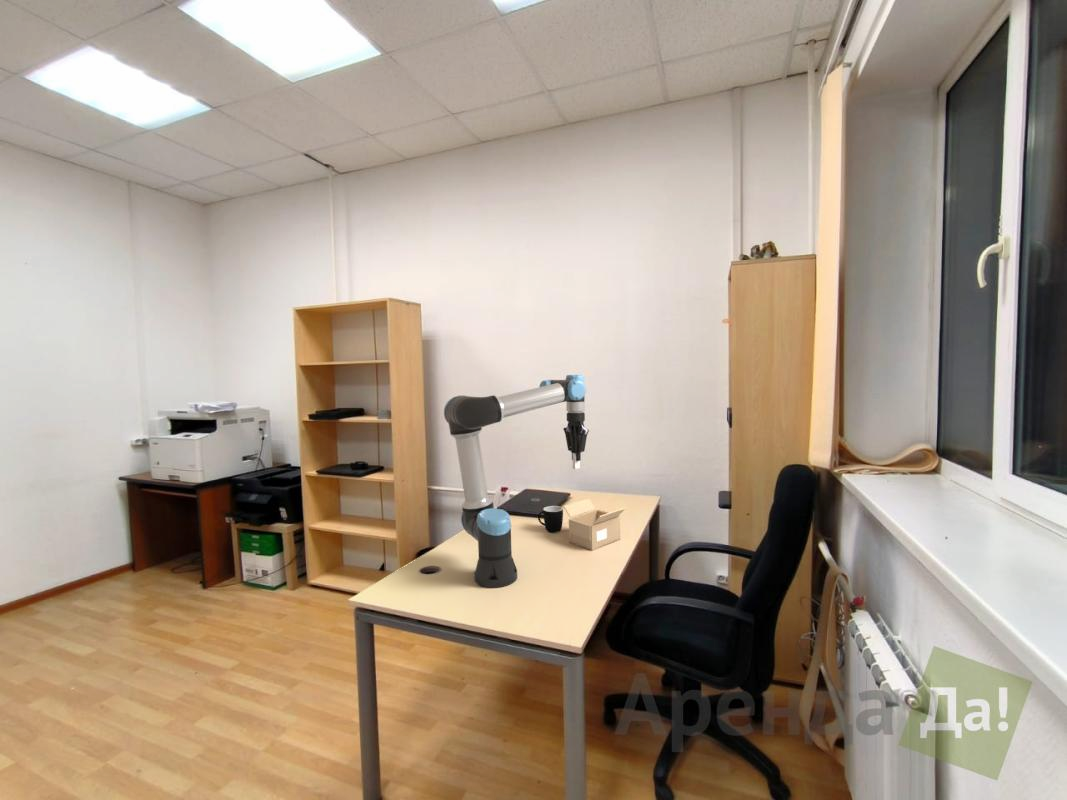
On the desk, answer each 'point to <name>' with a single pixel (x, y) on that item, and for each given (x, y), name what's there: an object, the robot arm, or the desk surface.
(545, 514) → the mug
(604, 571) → the desk surface
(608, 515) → the right flap
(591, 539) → the carton
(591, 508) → the left flap
